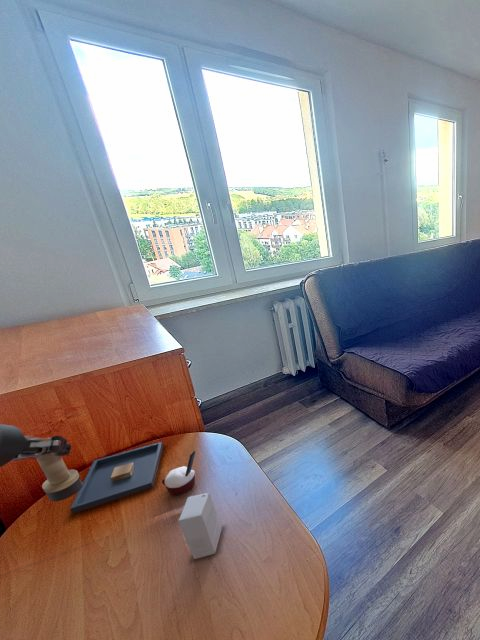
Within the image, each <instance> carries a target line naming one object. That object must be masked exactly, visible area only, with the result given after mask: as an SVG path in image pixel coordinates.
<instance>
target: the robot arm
mask: <svg viewBox="0 0 480 640" xmlns="http://www.w3.org/2000/svg"><path fill="white" fill-rule="evenodd" d="M48 438H50V440H49V439H48ZM46 449H47V451H46ZM71 450H72V445H71V443H68V439H67V438H65V437H63V436H61V435H54V436H52V437H35V436H33V435H24V434H23V431H22V430H21V429H20V428H19V427H17V426H15V425H11V424H3V423H0V468H1V467H4V466H5V465H7V464H9V463H10V462H14V461H15V462H16V461H17V462H18V461H22V460H23V461H24V460H28V459H36V458H38V457H43V456H45V455H50V456H53V455H58V456H61V457H64V456H69V455H70V453H71ZM36 460H37V459H36Z"/></svg>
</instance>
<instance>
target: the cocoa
mask: <svg viewBox="0 0 480 640" xmlns="http://www.w3.org/2000/svg"><path fill="white" fill-rule="evenodd" d="M195 456H196V451H195V450H193V451H192V453H190V455H189V458H188V463H187V466H185V465H183V466H179V467H177V468H173V469H171V470H170V471H169V472H168V473H167V475H166V476H165V478H163V479H162V480H161V484H162V485H163V486H165V488H166V490H167V491H168V493H169V494H170V495H173V496H181V495H183V494H185V493H188V492H189V491H191V490H192V488H193V487H194V485H195V481H196V474H195V471H196V470H194V469H192V467H193V464H194V459H195Z"/></svg>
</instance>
